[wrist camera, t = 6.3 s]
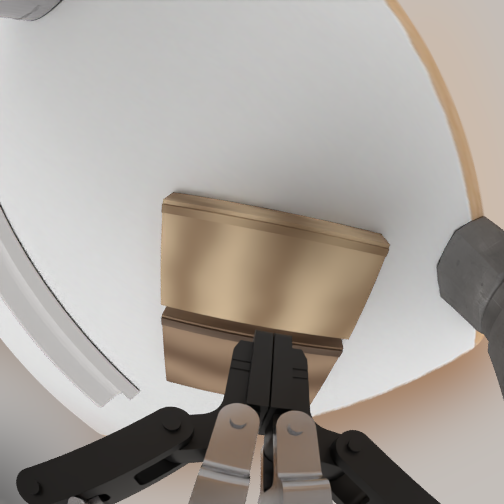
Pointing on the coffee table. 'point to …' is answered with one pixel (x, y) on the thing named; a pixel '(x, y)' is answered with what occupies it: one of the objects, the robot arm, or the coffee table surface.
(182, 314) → the walnut board
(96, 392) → the crown molding
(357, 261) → the oak plank
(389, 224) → the coffee table surface
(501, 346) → the coffeepot
